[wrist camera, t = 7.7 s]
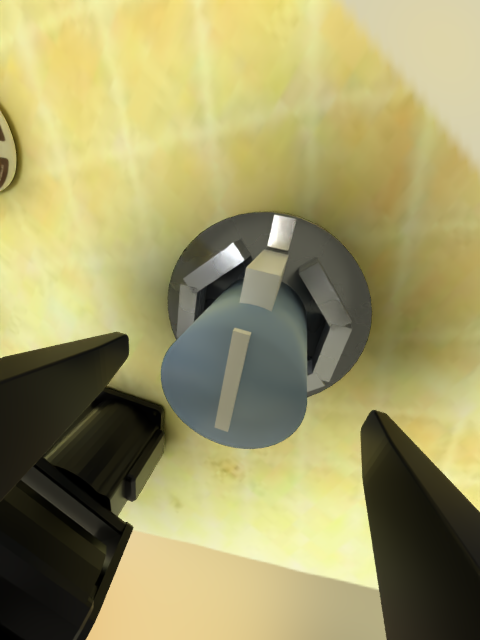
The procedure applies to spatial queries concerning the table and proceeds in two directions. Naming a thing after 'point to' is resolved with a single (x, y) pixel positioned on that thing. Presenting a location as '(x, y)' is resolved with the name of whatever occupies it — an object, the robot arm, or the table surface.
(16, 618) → the robot arm
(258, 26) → the table surface
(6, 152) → the supplement bottle
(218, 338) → the knob
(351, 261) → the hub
